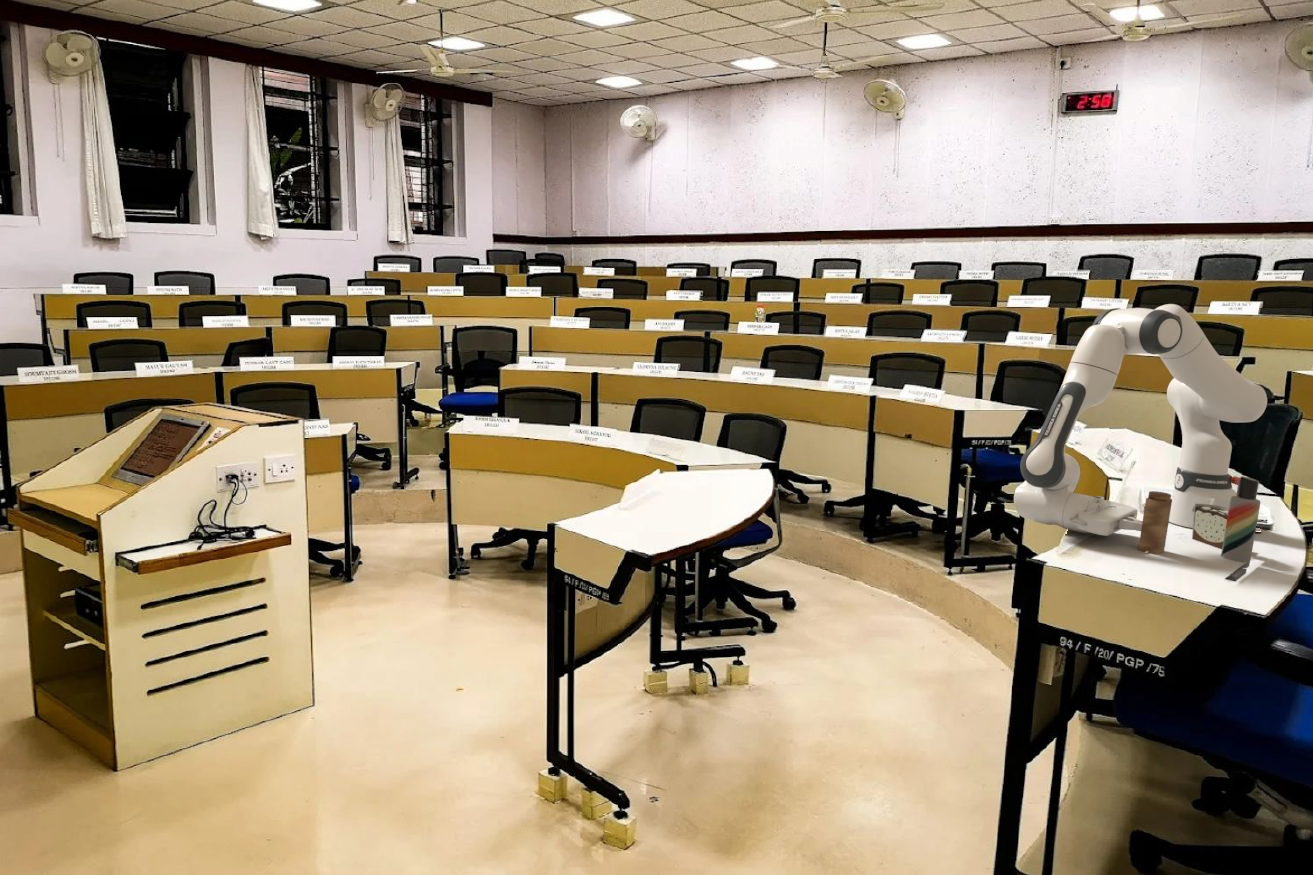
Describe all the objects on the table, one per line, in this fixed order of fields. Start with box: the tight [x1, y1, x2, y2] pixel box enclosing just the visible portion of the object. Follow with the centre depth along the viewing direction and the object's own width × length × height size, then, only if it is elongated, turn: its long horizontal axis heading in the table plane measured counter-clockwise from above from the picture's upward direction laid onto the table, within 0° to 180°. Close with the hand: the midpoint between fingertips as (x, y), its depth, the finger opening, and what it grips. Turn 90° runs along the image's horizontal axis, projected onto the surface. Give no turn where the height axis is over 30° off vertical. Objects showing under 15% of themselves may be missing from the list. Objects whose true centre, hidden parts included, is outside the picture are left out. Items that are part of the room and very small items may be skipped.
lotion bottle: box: [1220, 475, 1261, 569], centre depth 210 cm, size 6×6×20 cm
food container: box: [1191, 504, 1229, 550], centre depth 222 cm, size 12×6×10 cm, turn 17°
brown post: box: [1137, 490, 1172, 555], centre depth 213 cm, size 4×8×13 cm, turn 136°
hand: (1145, 526), depth 214 cm, fingers closed, pressing on brown post
